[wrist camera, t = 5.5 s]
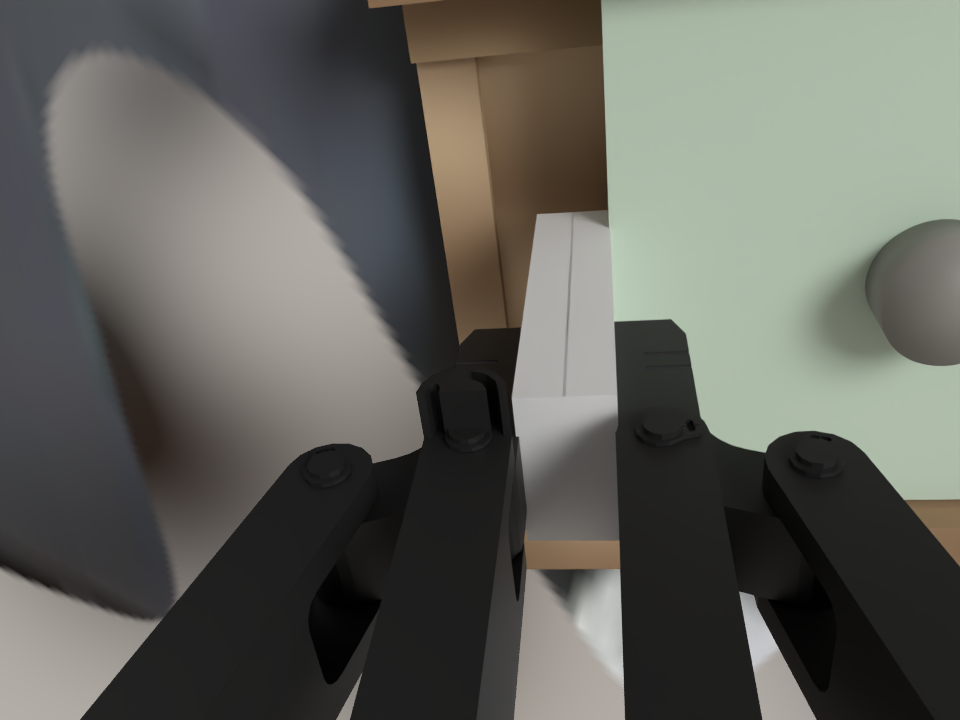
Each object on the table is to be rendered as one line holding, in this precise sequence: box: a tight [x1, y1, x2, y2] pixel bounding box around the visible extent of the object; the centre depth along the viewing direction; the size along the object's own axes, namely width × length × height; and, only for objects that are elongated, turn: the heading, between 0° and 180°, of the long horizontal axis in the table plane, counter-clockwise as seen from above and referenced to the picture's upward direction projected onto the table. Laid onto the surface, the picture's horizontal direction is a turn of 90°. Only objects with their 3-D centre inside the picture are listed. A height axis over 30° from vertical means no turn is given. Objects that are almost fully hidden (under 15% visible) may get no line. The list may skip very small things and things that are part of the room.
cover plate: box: [601, 0, 960, 500], centre depth 17 cm, size 11×12×3 cm
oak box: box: [368, 0, 960, 569], centre depth 18 cm, size 14×16×4 cm
